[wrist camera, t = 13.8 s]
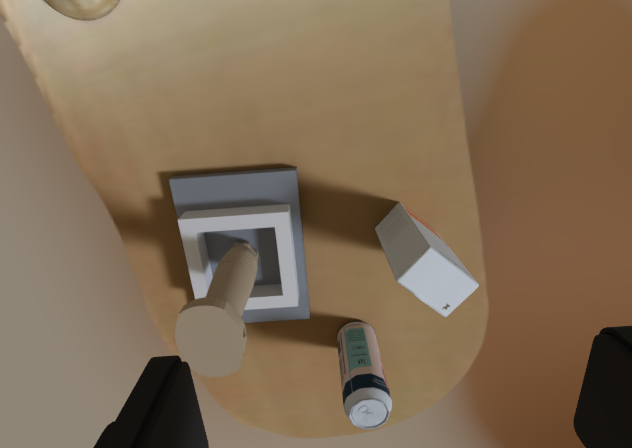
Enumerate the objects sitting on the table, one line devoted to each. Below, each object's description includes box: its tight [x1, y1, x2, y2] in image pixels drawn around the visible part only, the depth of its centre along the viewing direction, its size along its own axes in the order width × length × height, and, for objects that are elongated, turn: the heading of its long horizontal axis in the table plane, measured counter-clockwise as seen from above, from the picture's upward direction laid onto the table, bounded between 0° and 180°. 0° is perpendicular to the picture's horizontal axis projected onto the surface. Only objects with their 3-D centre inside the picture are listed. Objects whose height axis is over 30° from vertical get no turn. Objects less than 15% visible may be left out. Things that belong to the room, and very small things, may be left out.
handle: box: [175, 241, 258, 377], centre depth 35 cm, size 5×6×15 cm
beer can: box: [337, 322, 392, 429], centre depth 42 cm, size 5×5×12 cm
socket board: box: [169, 167, 310, 323], centre depth 41 cm, size 18×13×4 cm
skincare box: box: [375, 202, 479, 317], centre depth 37 cm, size 6×4×12 cm
